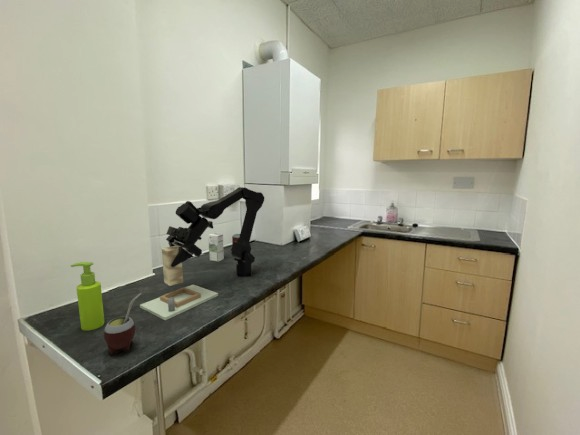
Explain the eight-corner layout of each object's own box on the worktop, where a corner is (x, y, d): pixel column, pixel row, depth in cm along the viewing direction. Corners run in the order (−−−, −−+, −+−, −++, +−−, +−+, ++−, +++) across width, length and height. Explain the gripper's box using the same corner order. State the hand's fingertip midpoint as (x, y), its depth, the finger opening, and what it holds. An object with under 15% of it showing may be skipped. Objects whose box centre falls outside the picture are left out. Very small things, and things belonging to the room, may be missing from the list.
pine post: (177, 278, 106) (175, 245, 104) (183, 282, 103) (181, 248, 101) (164, 282, 103) (161, 248, 101) (169, 285, 99) (167, 251, 97)
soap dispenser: (85, 320, 87) (78, 260, 84) (108, 319, 88) (102, 259, 85) (72, 331, 82) (64, 266, 78) (97, 330, 82) (90, 266, 79)
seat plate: (193, 286, 114) (192, 275, 114) (218, 295, 106) (217, 283, 105) (140, 307, 96) (138, 294, 95) (165, 320, 88) (164, 305, 87)
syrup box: (224, 258, 151) (223, 233, 149) (218, 262, 146) (217, 235, 144) (215, 257, 153) (214, 232, 151) (208, 260, 148) (207, 234, 145)
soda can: (231, 257, 155) (230, 235, 153) (234, 253, 162) (234, 233, 160) (243, 257, 154) (243, 236, 152) (246, 254, 161) (246, 233, 159)
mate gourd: (99, 353, 72) (94, 299, 70) (128, 337, 79) (123, 287, 77) (118, 361, 69) (113, 305, 67) (146, 343, 76) (142, 292, 74)
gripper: (169, 215, 108) (141, 247, 102) (192, 221, 95) (161, 258, 89) (189, 231, 115) (164, 263, 109) (213, 239, 102) (186, 275, 96)
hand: (168, 264), depth 101 cm, fingers closed on pine post, 5 cm apart
